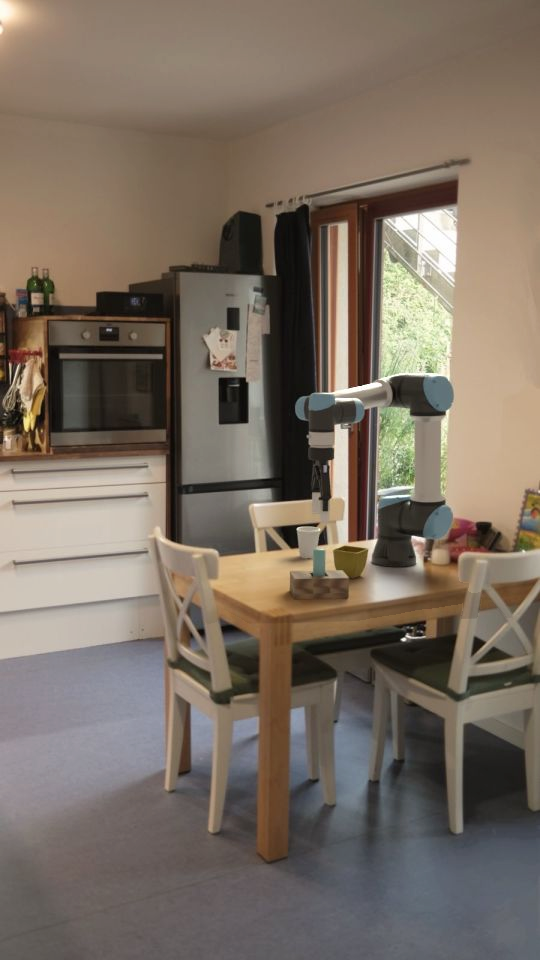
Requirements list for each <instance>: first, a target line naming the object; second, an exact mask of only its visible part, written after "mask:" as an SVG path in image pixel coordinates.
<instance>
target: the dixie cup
mask: <svg viewBox="0 0 540 960" xmlns="http://www.w3.org/2000/svg"><path fill="white" fill-rule="evenodd" d="M320 531H321V528H319V527H318V526H317V527H315V526H299V527H297V528H296V534H297V543H298V552H299V558H301V557H302V558H301V559H307V558H310V559H313V550H314V549H318V545H319V540H320V539H319V537H320Z"/></svg>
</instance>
